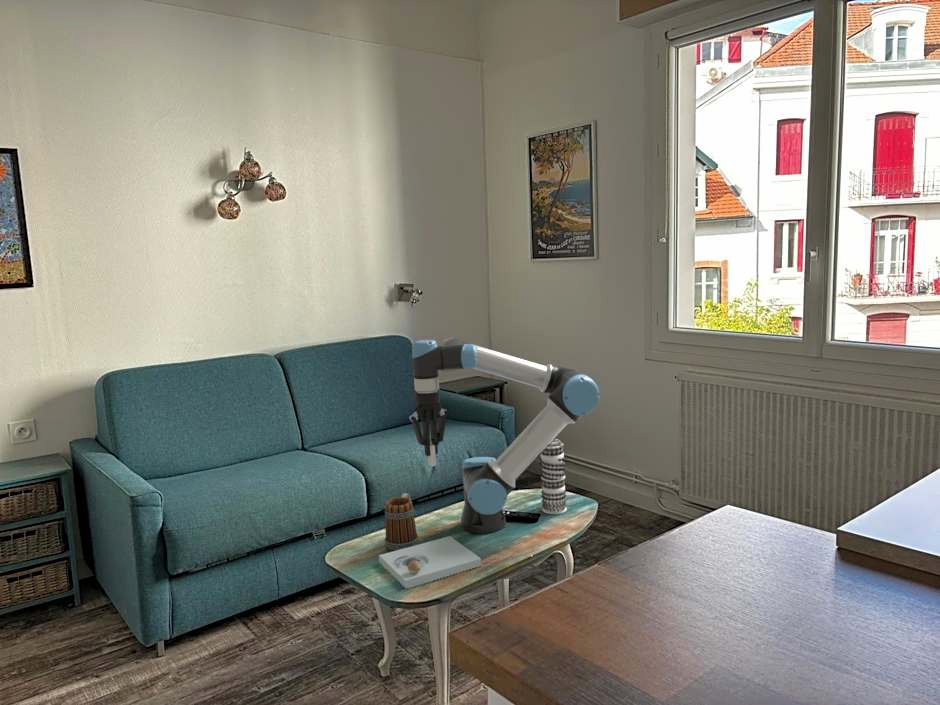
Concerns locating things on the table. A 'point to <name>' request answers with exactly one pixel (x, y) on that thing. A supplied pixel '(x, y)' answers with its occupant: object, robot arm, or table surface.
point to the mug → (400, 524)
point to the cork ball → (414, 566)
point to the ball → (411, 560)
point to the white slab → (429, 561)
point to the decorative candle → (553, 478)
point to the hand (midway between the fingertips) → (432, 465)
